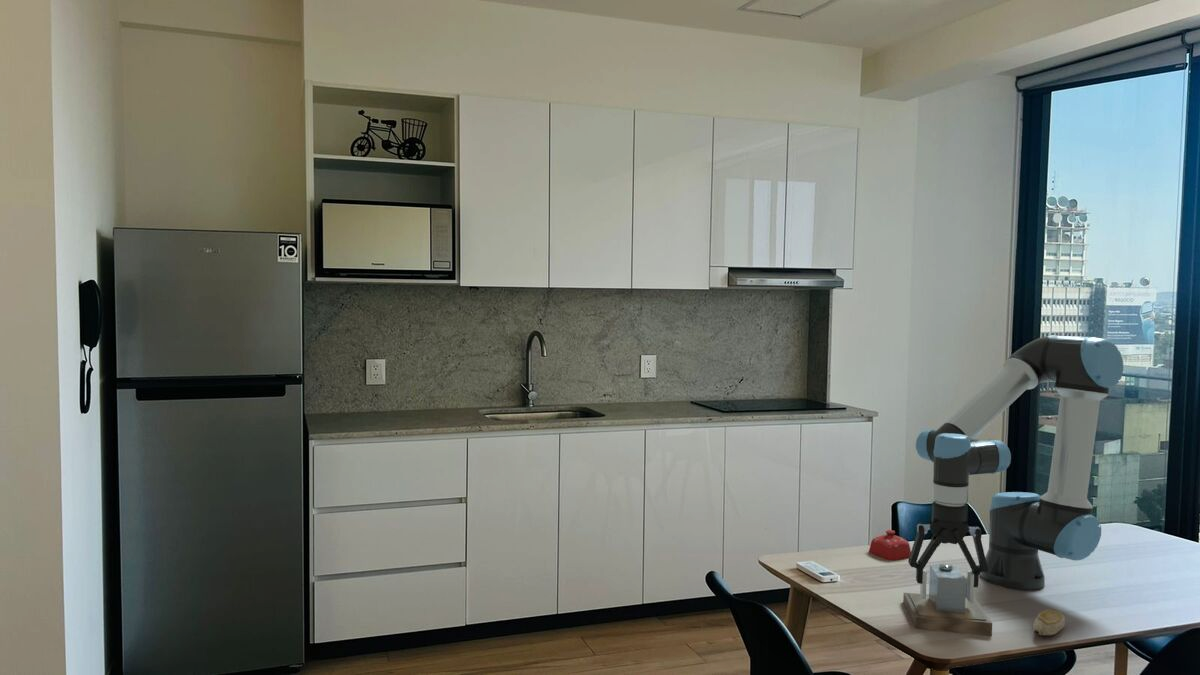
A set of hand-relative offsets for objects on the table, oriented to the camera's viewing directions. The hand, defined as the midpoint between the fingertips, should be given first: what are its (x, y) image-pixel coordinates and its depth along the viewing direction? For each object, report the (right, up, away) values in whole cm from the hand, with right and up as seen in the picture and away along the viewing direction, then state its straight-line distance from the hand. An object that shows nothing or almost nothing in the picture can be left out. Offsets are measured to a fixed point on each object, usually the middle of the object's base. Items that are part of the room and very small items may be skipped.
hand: (946, 598), depth 201 cm
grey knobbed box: (0, -2, 0) cm, 2 cm away
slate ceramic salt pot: (+8, -4, +12) cm, 15 cm away
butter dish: (+2, -3, +46) cm, 46 cm away
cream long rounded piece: (+20, -3, -1) cm, 20 cm away
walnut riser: (0, -5, 0) cm, 5 cm away
